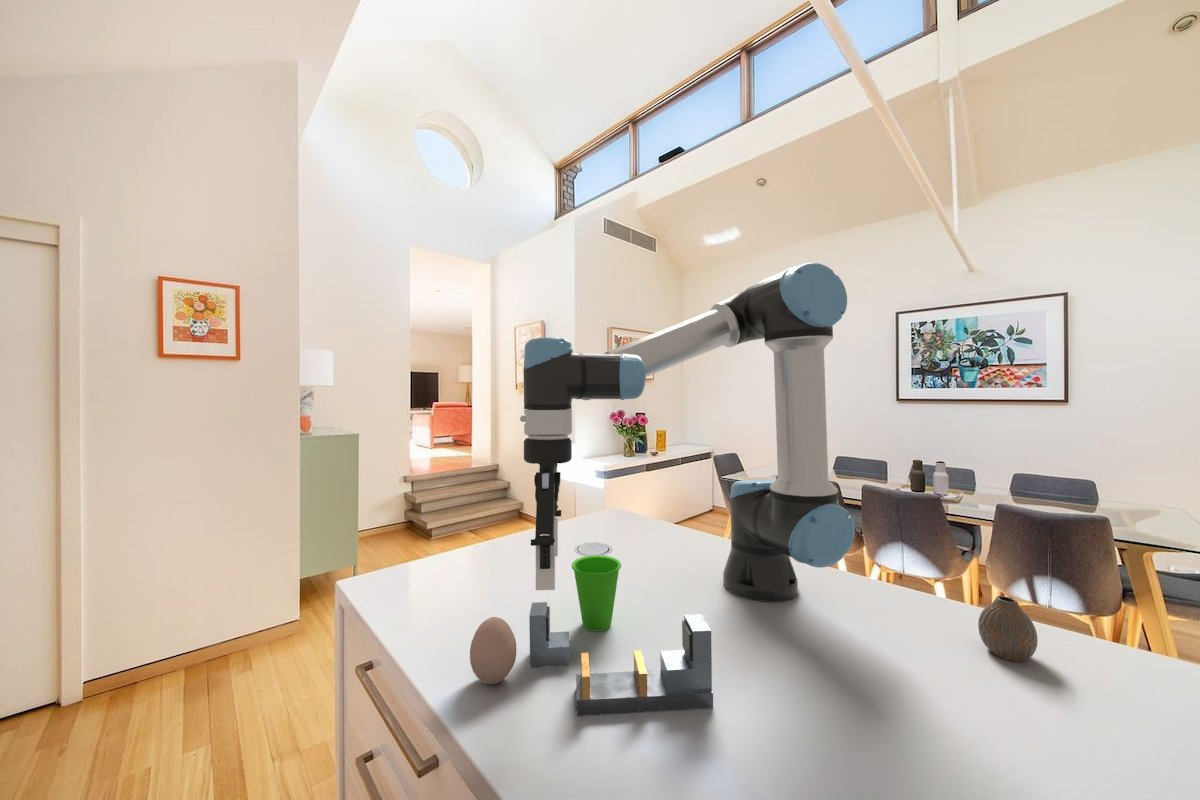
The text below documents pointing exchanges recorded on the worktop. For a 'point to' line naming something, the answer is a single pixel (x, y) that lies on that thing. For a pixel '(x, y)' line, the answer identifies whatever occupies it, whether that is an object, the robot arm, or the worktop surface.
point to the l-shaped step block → (546, 639)
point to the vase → (1007, 630)
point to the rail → (653, 679)
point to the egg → (493, 650)
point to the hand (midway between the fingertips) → (547, 571)
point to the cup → (596, 589)
